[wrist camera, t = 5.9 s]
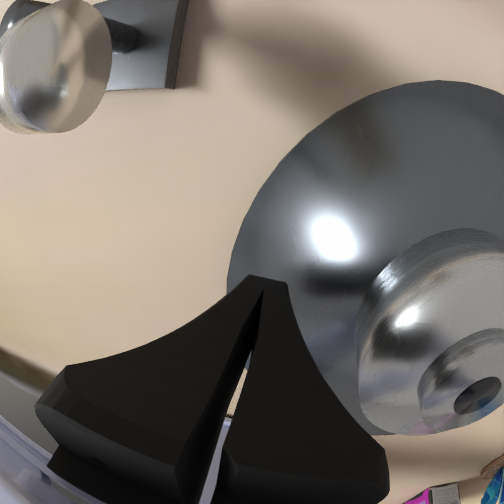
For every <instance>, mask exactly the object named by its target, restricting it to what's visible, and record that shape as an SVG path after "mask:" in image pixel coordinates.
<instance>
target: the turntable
mask: <svg viewBox="0 0 504 504" xmlns="http://www.w3.org/2000/svg"><path fill="white" fill-rule="evenodd" d="M459 228H476V229H480V230H484V231H487V232H490V233H492V234H494V235H496V236H497V237H499V238H500V239H502V240H503V241H504V95H502V94H500V93H498V92H496V91H494V90H491V89H488V88H485V87H481V86H478V85H474V84H471V83H465V82H455V81H442V80H435V81H425V82H416V83H408V84H403V85H400V86H396V87H393V88H390V89H387V90H383V91H380V92H377V93H374V94H371V95H368V96H366V97H364V98H362V99H360V100H358V101H357V102H355V103H353V104H351V105H349V106H347V107H345V108H343V109H341V110H339V111H337V112H336V113H335V114H333V115H332V116H330V117H329V118H328V119H326V120H325V121H324V122H322V123H321V124H320V125H318V126H317V127H316V128H314V129H313V130H312V131H310V132H309V133H308V134H307V135H306V136H305V137H304V138H303V139H302V140H301V141H300V142H299V143H298V144H297V145H296V146H295V147H294V148H293V149H292V150H291V151H290V152H289V153H288V154H287V155H286V156H285V157H284V158H283V159H282V160H281V161H280V163H279V164H278V165H277V167H276V168H275V170H274V171H273V172H272V174H271V175H270V176H269V178H268V179H267V180H266V182H265V183H264V185H263V186H262V187H261V189H260V190H259V192H258V194H257V195H256V197H255V199H254V201H253V203H252V205H251V207H250V209H249V210H248V212H247V214H246V216H245V218H244V220H243V222H242V225H241V228H240V230H239V233H238V236H237V239H236V242H235V245H234V247H233V250H232V255H231V260H230V265H229V271H228V276H227V294H228V293H229V292H230V291H231V290H232V289H233V288H235V287H236V286H237V285H238V284H239V283H240V282H241V281H242V280H243V279H244V278H245V276H247V275H249V274H251V275H255V276H260V277H265V278H269V279H274V280H278V281H283V282H286V283H287V285H288V289H289V295H290V300H291V304H292V308H293V311H294V314H295V317H296V320H297V323H298V326H299V329H300V331H301V334H302V336H303V338H304V341H305V343H306V345H307V348H308V350H309V352H310V354H311V356H312V358H313V360H314V361H315V363H316V365H317V367H318V369H319V370H320V372H321V374H322V375H323V377H324V379H325V380H326V382H327V383H328V385H329V386H330V388H331V389H332V390H333V392H334V393H335V395H336V396H337V397H338V399H339V400H340V402H341V403H342V404H343V406H344V407H345V408H346V410H347V411H348V412H349V413H350V414H351V416H352V417H353V418H354V419H355V420H356V421H357V422H358V424H359V425H360V426H361V427H362V428H363V429H364V430H365V431H366V432H367V433H368V434H369V435H394V434H395V433H391V432H388V431H385V430H383V429H380V428H379V427H377V426H375V425H374V424H373V423H372V422H370V421H369V420H368V419H367V417H366V416H365V414H364V413H363V411H362V408H361V405H360V398H359V385H358V372H357V360H356V350H355V341H354V327H355V321H356V316H357V313H358V310H359V307H360V305H361V302H362V300H363V298H364V296H365V294H366V293H367V291H368V289H369V288H370V286H371V284H372V283H373V282H374V281H375V279H376V278H377V277H378V275H379V274H380V273H381V272H382V271H383V270H384V269H385V268H386V267H387V265H388V264H389V263H390V262H392V261H393V260H394V259H395V258H396V257H397V256H399V255H400V254H401V253H402V252H404V251H405V250H407V249H408V248H410V247H411V246H412V245H414V244H416V243H418V242H419V241H421V240H423V239H425V238H427V237H429V236H432V235H434V234H437V233H440V232H443V231H447V230H451V229H459ZM227 294H226V295H227ZM251 351H252V350H251ZM250 357H251V352H250V355H249V358H248V360H247V363H246V365H245V368H246V370H247V371H248V368H249V363H250Z"/></svg>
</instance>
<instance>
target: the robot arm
mask: <svg viewBox="0 0 504 504" xmlns="http://www.w3.org/2000/svg"><path fill="white" fill-rule="evenodd" d="M251 350H252V351H251ZM250 352H251V357H250V363H249V368H248V372H247V375H246V378H245V381H244V384H243V388H242V391H241V394H240V397H239V400H238V403H237V406H236V409H235V412H234V415H233V418H232V419H231V418H227V417H225V416H226V413H227V410H228V407H229V405H230V402H231V399H232V397H233V394H234V392H235V390H236V387H237V385H238V382H239V380H240V377H241V375H242V373H243V370H244V368H245V365H246V363H247V360H248V358H249V355H250ZM34 408H35V412H36V415H37V417H38V418H39V420H40V421H41V423H42V424H43V425H44V427H45V428H46V429H47V431H48V432H49V433H50V434H51V435H52V437H53V438H54V439H55V440H56V441H57V443H58V444H59V447H58V448H57V450H56V452H55V453H54V454H53V455H51V454H50V453H48V452H47V451H45V450H44V449H42V448H41V447H39V446H38V445H37V444H35V443H34V442H33V441H31V440H30V439H29V438H27V437H26V436H25V435H24V434H22V433H21V432H20V431H18V430H17V429H16V428H15V427H13V426H12V425H11V424H10V423H9V422H7V421H6V420H5V419H4V418H3V417H2V416H1V415H0V504H76V503H75V502H73V501H71V500H70V499H68V498H66V497H65V496H63V495H62V494H61V493H59V492H58V491H56V490H55V489H53V488H52V486H51V481H50V479H52V480H53V481H55V482H56V483H58V484H59V485H60V486H62V487H64V488H65V489H67V490H68V491H70V492H72V493H73V494H75V495H77V496H78V497H80V498H82V499H83V500H85V501H87V502H89V503H90V504H377V503H379V502H380V501H382V500H383V499H384V498H385V497H386V496H387V495H388V493H389V491H390V482H389V470H388V464H387V459H386V454H385V449H384V448H383V447H382V446H381V445H380V444H379V443H378V442H377V441H376V440H374V439H373V438H372V437H371V436H370V435H369V434H368V433H367V432H366V431H365V430H364V429H363V428H362V427H361V426H360V425H359V424H358V422H357V421H356V420H355V419H354V418H353V417H352V416H351V414H350V413H349V412H348V411H347V410H346V408H345V407H344V406H343V404H342V403H341V402H340V400H339V399H338V397H337V396H336V395H335V393H334V392H333V390H332V389H331V388H330V386H329V385H328V383H327V382H326V380H325V379H324V377H323V375H322V374H321V372H320V370H319V369H318V367H317V365H316V363H315V361H314V360H313V358H312V356H311V354H310V352H309V350H308V348H307V345H306V343H305V341H304V338H303V336H302V334H301V331H300V329H299V326H298V323H297V320H296V317H295V314H294V311H293V308H292V304H291V300H290V295H289V289H288V285H287V283H286V282H283V281H278V280H274V279H269V278H265V277H260V276H255V275H251V274H249V275H247V276H245V278H244V279H243V280H242V281H241V282H240V283H239V284H238V285H237V286H236V287H235V288H233V289H232V290H231V291H230V292H229V293H228V294H227V295H225V296H224V297H223V298H222V299H221V300H219V301H218V302H217V303H216V304H215V305H213V306H212V307H210V308H209V309H208V310H206V311H205V312H203V313H202V314H201V315H199V316H198V317H196V318H195V319H193V320H192V321H190V322H189V323H187V324H185V325H184V326H182V327H180V328H178V329H176V330H175V331H173V332H171V333H169V334H167V335H165V336H163V337H161V338H159V339H157V340H154V341H152V342H150V343H147V344H145V345H143V346H140V347H137V348H135V349H132V350H129V351H126V352H123V353H120V354H116V355H113V356H109V357H106V358H102V359H97V360H93V361H88V362H83V363H78V364H73V365H67V366H66V367H65V368H64V369H63V370H62V371H61V372H60V373H59V374H58V375H57V376H56V378H55V379H54V380H53V381H52V383H51V384H50V385H49V387H48V388H47V389H46V391H45V392H44V393H43V395H42V396H41V397H40V399H39V400H38V401H37V403H36V404H35V406H34ZM48 477H49V478H50V479H49V478H48Z"/></svg>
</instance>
